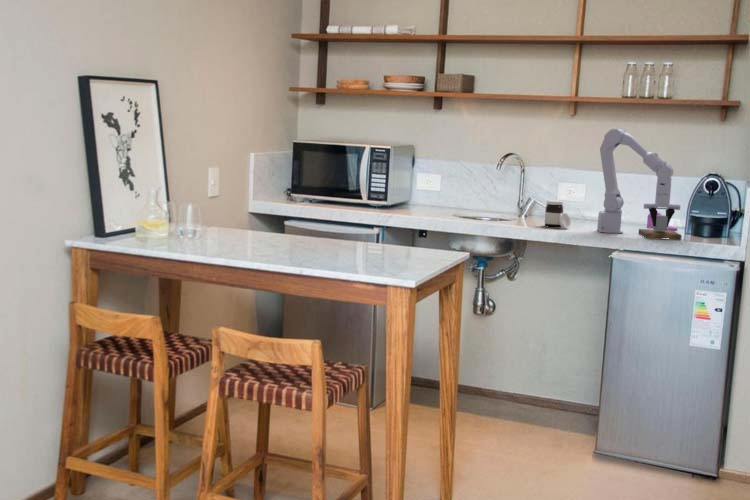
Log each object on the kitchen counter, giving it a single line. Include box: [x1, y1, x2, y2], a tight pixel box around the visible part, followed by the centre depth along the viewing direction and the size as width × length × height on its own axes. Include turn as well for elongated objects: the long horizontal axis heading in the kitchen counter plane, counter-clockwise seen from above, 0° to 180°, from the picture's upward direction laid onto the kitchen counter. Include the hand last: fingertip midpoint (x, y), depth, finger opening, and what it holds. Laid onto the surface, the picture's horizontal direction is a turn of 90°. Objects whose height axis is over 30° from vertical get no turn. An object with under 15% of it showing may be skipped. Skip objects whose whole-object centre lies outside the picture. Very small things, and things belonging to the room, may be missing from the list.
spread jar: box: [544, 199, 572, 230], centre depth 374 cm, size 12×11×12 cm
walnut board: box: [638, 228, 682, 240], centre depth 355 cm, size 14×14×2 cm
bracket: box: [646, 211, 678, 232], centre depth 379 cm, size 13×6×7 cm, turn 40°
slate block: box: [652, 214, 668, 231], centre depth 355 cm, size 4×4×6 cm
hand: (660, 226), depth 355 cm, fingers closed on slate block, 4 cm apart
